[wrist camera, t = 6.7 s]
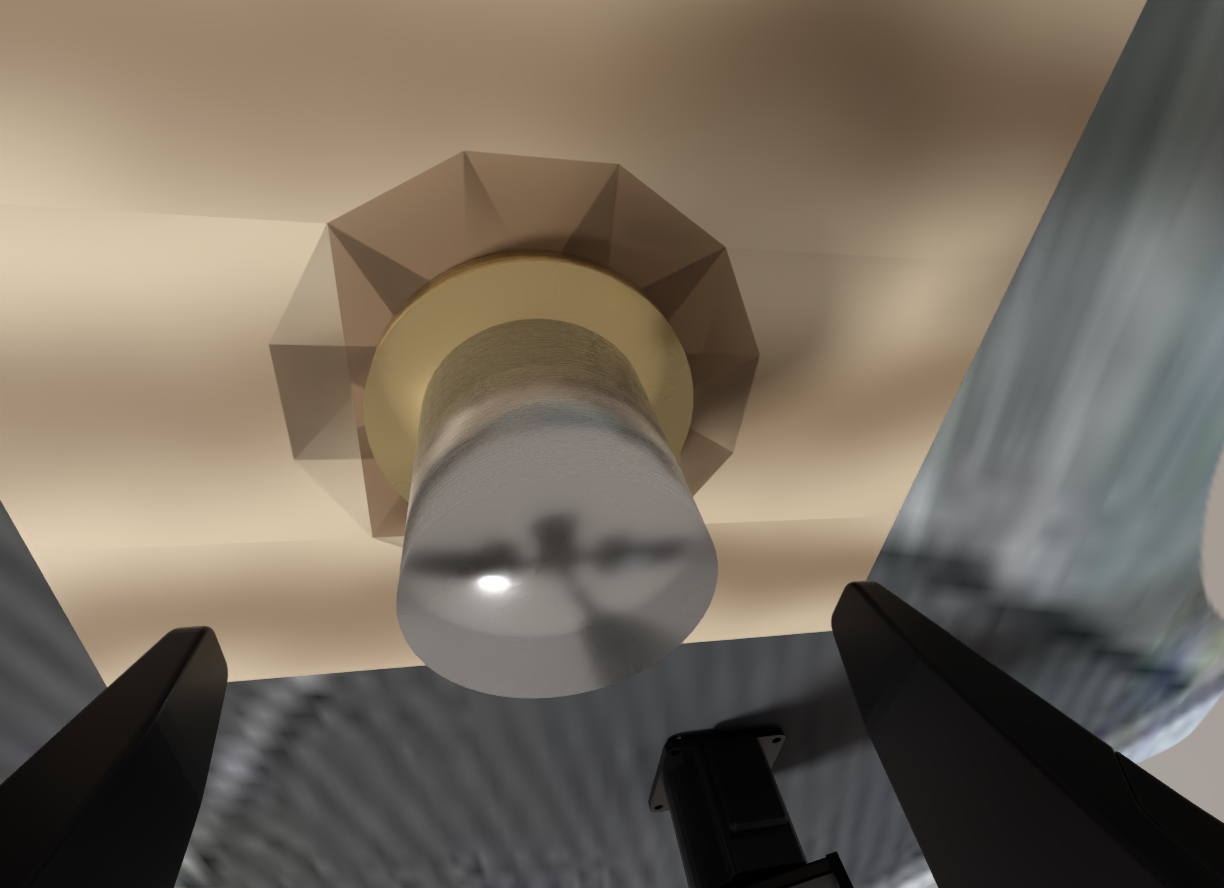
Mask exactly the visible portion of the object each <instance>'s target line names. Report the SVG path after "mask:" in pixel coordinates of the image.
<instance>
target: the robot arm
mask: <svg viewBox="0 0 1224 888" xmlns="http://www.w3.org/2000/svg"><path fill="white" fill-rule="evenodd" d="M831 627H832V632H833V635H834V638H835V641H836V644H837V647H838V650H839V653H840V656H841V658H842V661H843V664H844V667H845V670H846V673H847V676H848V679H849V682H850V685H851V688H852V691H853V694H854V697H855V700H856V703H857V705H858V708H859V711H860V714H861V716H862V719H863V722H864V724H865V726H866V729H867V731H868V733H869V736H870V738H871V740H872V742H873V745H874V747H875V749H876V751H877V754H878V756H879V758H880V760H881V762H882V765H883V767H884V769H885V771H886V773H887V776H888V778H889V780H890V782H891V784H892V787H893V789H894V791H895V793H896V795H897V798H898V800H899V802H900V804H901V806H902V809H903V811H904V813H905V815H906V818H907V820H908V822H909V824H910V826H911V829H912V831H913V833H914V835H915V837H916V840H917V842H918V844H919V846H920V848H921V851H922V853H923V855H924V857H925V859H926V862H927V864H928V866H929V868H930V870H931V873H932V875H933V877H934V879H935V881H936V884H937V886H938V888H1224V823H1223V822H1221V821H1220V820H1218V819H1216V818H1215V817H1213V816H1212V815H1210V814H1209V813H1207V812H1206V811H1204V810H1202V809H1201V808H1200V807H1198V806H1196V805H1195V804H1193V803H1192V802H1190V801H1189V800H1188V799H1186V798H1185V797H1183V796H1181V795H1180V794H1179V793H1177V792H1176V791H1174V790H1173V789H1171V788H1170V787H1169V786H1167V785H1166V784H1164V783H1162V782H1161V781H1160V780H1158V779H1157V778H1155V777H1154V776H1152V775H1151V774H1149V773H1148V772H1147V771H1145V770H1144V769H1142V768H1141V767H1139V766H1138V765H1137V764H1135V763H1134V762H1132V761H1131V760H1130V759H1128V758H1127V757H1125V756H1124V755H1122V754H1121V753H1120V752H1114V750H1113V748H1112V747H1111V746H1109V745H1108V744H1107V743H1105V742H1104V741H1102V740H1101V739H1099V738H1098V737H1097V736H1095V735H1094V734H1092V733H1091V732H1089V731H1088V730H1087V729H1085V728H1084V727H1082V726H1081V725H1080V724H1078V723H1077V722H1075V721H1074V720H1072V719H1071V718H1070V717H1068V716H1067V715H1065V714H1064V713H1062V712H1061V711H1060V710H1058V709H1057V708H1055V707H1054V706H1053V705H1051V704H1050V703H1048V702H1047V701H1045V700H1044V699H1043V698H1041V697H1040V696H1038V695H1037V694H1035V693H1034V692H1033V691H1031V690H1030V689H1028V688H1027V687H1025V686H1024V685H1023V684H1021V683H1020V682H1018V681H1017V680H1016V679H1014V678H1013V677H1011V676H1010V675H1008V674H1007V673H1006V672H1004V671H1003V670H1001V669H1000V668H998V667H997V666H996V665H994V664H993V663H991V662H990V661H988V660H987V659H986V658H984V657H983V656H981V655H980V654H979V653H977V652H976V651H974V650H973V649H971V648H970V647H969V646H967V645H966V644H964V643H963V642H961V641H960V640H959V639H957V638H956V637H954V636H953V635H951V634H950V633H949V632H947V631H946V630H944V629H943V628H942V627H940V626H939V625H937V624H936V623H934V622H933V621H932V620H930V619H929V618H927V617H926V616H924V615H923V614H922V613H920V612H919V611H917V610H916V609H914V608H913V607H912V606H910V605H909V604H907V603H906V602H905V601H903V600H902V599H900V598H899V597H897V596H896V595H895V594H893V593H892V592H890V591H889V590H887V589H886V588H885V587H883V586H882V585H880V584H879V583H877V582H875V581H870V580H867V581H853V582H850V583H848V584H847V585H846V586H845V588H844V590H843V592H842V594H841V596H840V598H839V601H838V603H837V605H836V607H835V609H834V611H833V614H832V617H831ZM227 681H228V667H227V663H226V660H225V657H224V655H223V652H222V650H221V647H220V644H219V642H218V639H217V637H216V634H215V632H214V630H213V629H212V628H211V627H209V626H191V627H179V628H175V629H173V630H171V631H169V632H168V633H167V634H165V635H164V636H163V637H162V638H161V639H160V640H159V641H158V642H157V643H156V644H154V645H153V646H152V647H151V648H150V649H149V650H148V651H147V652H146V653H145V654H143V655H142V656H141V657H140V658H139V659H138V660H137V661H136V662H135V663H134V664H132V665H131V666H130V667H129V668H128V669H127V670H126V671H125V672H124V673H123V674H122V675H120V676H119V677H118V678H117V679H116V680H115V681H114V682H113V683H112V684H111V685H109V686H108V687H107V688H106V689H105V690H104V691H103V692H102V693H101V694H100V695H98V696H97V697H96V698H95V699H94V700H93V701H92V702H91V703H90V704H89V705H87V706H86V707H85V708H84V709H83V710H82V711H81V712H80V713H79V714H78V715H77V716H75V717H74V718H73V719H72V720H71V721H70V722H69V723H68V724H67V725H66V726H64V727H63V728H62V729H61V730H60V731H59V732H58V733H57V734H56V735H55V736H53V737H52V738H51V739H50V740H49V741H48V742H47V743H46V744H45V745H44V746H42V747H41V748H40V749H39V750H38V751H37V752H36V753H35V754H34V755H33V756H32V757H30V758H29V759H28V760H27V761H26V762H25V763H24V764H23V765H22V766H21V767H19V768H18V769H17V770H16V771H15V772H14V773H13V774H12V775H11V776H10V777H8V778H7V779H6V780H5V781H4V782H3V783H2V784H1V785H0V888H174V886H175V883H176V880H177V877H178V874H179V871H180V868H181V865H182V862H183V859H184V856H185V853H186V850H187V847H188V844H189V841H190V837H191V834H192V831H193V828H194V825H195V822H196V819H197V816H198V812H199V809H200V806H201V802H202V798H203V794H204V789H205V785H206V781H207V776H208V771H209V767H210V762H211V757H212V753H213V748H214V743H215V738H216V734H217V729H218V724H219V720H220V715H221V710H222V706H223V701H224V696H225V692H226V687H227ZM785 739H786V737H785V734H784V732H783V730H782V728H769V729H761V730H752V731H744V732H735V733H727V734H719V735H710V736H702V737H693V738H685V739H677V740H671V741H669V742H667V743H666V744H665V745H664V748H663V751H662V755H661V758H660V762H659V765H658V769H657V772H656V776H655V779H654V783H653V786H652V790H651V793H650V797H649V800H648V803H649V808H650V811H652V812H660V811H667V810H670V813H671V817H672V821H673V825H674V829H675V833H676V837H677V841H678V845H679V849H680V853H681V857H682V861H683V866H684V870H685V874H686V878H687V882H688V886H689V888H853V886H852V884H851V881H850V879H849V877H848V875H847V873H846V871H845V868H844V866H843V864H842V862H841V860H840V858H839V855H838V853H837V851H836V852H833V853H830V854H827V855H826V858H823V859H820V860H817V861H814V862H811V863H807V860H806V857H805V855H804V852H803V850H802V847H801V845H800V842H799V840H798V837H797V835H796V832H795V829H794V827H793V824H792V822H791V819H790V817H789V814H788V812H787V809H786V807H785V804H784V801H783V799H782V796H781V794H780V791H779V789H778V786H777V784H776V781H775V779H774V776H773V773H772V771H771V768H772V766H773V764H774V762H775V760H776V758H777V756H778V754H779V752H780V749H781V747H782V745H783V743H784V741H785Z"/></svg>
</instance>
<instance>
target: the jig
mask: <svg viewBox="0 0 1224 888" xmlns="http://www.w3.org/2000/svg"><path fill="white" fill-rule="evenodd" d="M1146 2H1147V0H0V500H1V502H2V503H3V505H4V507H5V509H6V510H7V512H8V514H9V516H10V517H11V519H12V521H13V523H14V524H15V526H16V528H17V530H18V531H19V533H20V535H21V537H22V538H23V540H24V542H25V544H26V545H27V547H28V549H29V551H30V552H31V554H32V556H33V558H34V559H35V561H36V563H37V565H38V566H39V568H40V570H41V572H42V573H43V575H44V577H45V579H46V580H47V582H48V584H49V586H50V587H51V589H52V591H53V593H54V595H55V596H56V598H57V600H58V602H59V603H60V605H61V607H62V609H63V610H64V612H65V614H66V616H67V617H68V619H69V621H70V623H71V624H72V626H73V628H74V630H75V631H76V633H77V635H78V637H79V638H80V640H81V642H82V644H83V645H84V647H85V649H86V651H87V652H88V654H89V656H90V658H91V659H92V661H93V663H94V665H95V666H96V668H97V670H98V672H99V673H100V675H101V677H102V679H103V680H104V682H105V684H106V686H107V687H108V686H109V685H111V684H112V683H113V682H114V681H115V680H116V679H117V678H118V677H119V676H120V675H122V674H123V673H124V672H125V671H126V670H127V669H128V668H129V667H130V666H131V665H132V664H134V663H135V662H136V661H137V660H138V659H139V658H140V657H141V656H142V655H143V654H145V653H146V652H147V651H148V650H149V649H150V648H151V647H152V646H153V645H154V644H156V643H157V642H158V641H159V640H160V639H161V638H162V637H163V636H164V635H165V634H167V633H168V632H169V631H171V630H173V629H175V628H179V627H191V626H209V627H211V628H212V629H213V630H214V632H215V634H216V637H217V639H218V642H219V644H220V647H221V650H222V652H223V655H224V657H225V660H226V663H227V667H228V681H227V682H232V681H244V680H256V679H268V678H279V677H291V676H303V675H315V674H327V673H338V672H350V671H362V670H374V669H386V668H398V667H409V666H421V665H425V664H424V663H423V662H422V661H421V660H420V659H419V658H418V656H417V655H416V654H415V653H414V652H413V651H412V649H411V648H410V646H409V645H408V643H407V642H406V640H405V638H404V636H403V634H402V631H401V629H400V626H399V622H398V618H397V612H396V596H397V588H398V580H399V573H400V565H401V558H402V550H403V542H404V535H405V527H406V520H407V512H408V504H409V503H408V502H407V501H406V500H405V499H404V498H403V497H402V496H401V495H400V494H399V493H398V492H397V491H396V490H395V489H394V487H393V486H392V485H391V483H390V482H389V481H388V480H387V478H386V477H385V476H384V474H383V472H382V471H381V469H380V467H379V465H378V464H377V462H376V460H375V458H374V455H373V453H372V450H371V448H370V445H369V443H368V438H367V433H366V429H365V424H364V407H363V404H364V395H365V386H366V382H367V378H368V375H369V371H370V368H371V364H372V361H373V357H374V354H375V350H376V347H377V345H378V343H379V340H380V338H381V336H382V334H383V332H384V330H385V328H386V326H387V325H388V323H389V322H390V320H391V319H392V317H393V316H394V314H395V313H396V311H397V310H398V309H399V308H400V307H401V306H402V305H403V304H404V302H405V301H406V300H407V299H408V298H409V297H410V296H411V295H412V294H413V293H414V292H415V291H417V290H418V289H419V288H420V287H422V286H423V285H424V284H425V283H427V282H428V281H429V280H431V279H432V278H434V277H436V276H437V275H439V274H441V273H442V272H444V271H445V270H447V269H449V268H451V267H453V266H456V265H458V264H460V263H463V262H465V261H467V260H470V259H473V258H476V257H480V256H484V255H487V254H491V253H495V252H502V251H509V250H516V249H544V250H553V251H561V252H567V253H570V254H574V255H578V256H582V257H586V258H589V259H591V260H593V261H596V262H598V263H601V264H603V265H606V266H608V267H610V268H611V269H613V270H615V271H616V272H618V273H620V274H622V275H623V276H625V277H627V278H628V279H629V280H630V281H632V282H633V283H634V284H635V285H637V286H638V287H639V288H641V289H642V290H643V291H644V292H645V293H646V294H647V295H648V296H649V298H650V299H651V300H652V301H653V302H654V303H655V304H656V305H657V307H658V308H659V309H660V311H661V312H662V314H663V315H664V317H665V318H666V319H667V321H668V323H669V324H670V326H671V327H672V329H673V331H674V332H675V334H676V335H677V337H678V339H679V341H680V343H681V345H682V347H683V349H684V351H685V354H686V357H687V360H688V363H689V367H690V370H691V376H692V382H693V411H692V418H691V424H690V427H689V431H688V434H687V438H686V440H685V443H684V445H683V447H682V449H681V452H680V454H679V456H678V457H677V459H676V461H677V463H678V465H679V468H680V470H681V472H682V474H683V476H684V479H685V481H686V483H687V485H688V487H689V490H690V492H691V494H692V496H693V499H694V501H695V503H696V505H697V507H698V510H699V512H700V514H701V516H702V518H703V521H704V523H705V525H706V527H707V529H708V532H709V534H710V536H711V539H712V541H713V544H714V547H715V549H716V555H717V561H718V579H717V584H716V589H715V593H714V595H713V598H712V601H711V603H710V606H709V608H708V609H707V611H706V613H705V615H704V617H703V618H702V620H701V621H700V622H699V624H698V625H697V626H696V628H695V629H694V631H693V632H692V633H691V634H690V635H689V636H688V637H687V638H686V639H685V640H684V641H683V642H682V643H693V642H705V641H717V640H729V639H740V638H752V637H764V636H776V635H788V634H799V633H811V632H823V631H832V627H831V617H832V614H833V611H834V609H835V607H836V605H837V603H838V601H839V598H840V596H841V594H842V592H843V590H844V588H845V586H846V585H847V584H848V583H850V582H853V581H866V579H867V577H868V575H869V573H870V571H871V569H872V567H873V565H874V562H875V560H876V558H877V556H878V554H879V552H880V550H881V548H882V546H883V544H884V542H885V540H886V538H887V536H888V534H889V532H890V529H891V527H892V525H893V523H894V521H895V519H896V517H897V515H898V513H899V511H900V509H901V507H902V505H903V503H904V501H905V499H906V496H907V494H908V492H909V490H910V488H911V486H912V484H913V482H914V480H915V478H916V476H917V474H918V472H919V470H920V468H921V466H922V463H923V461H924V459H925V457H926V455H927V453H928V451H929V449H930V447H931V445H932V443H933V441H934V439H935V437H936V435H937V433H938V430H939V428H940V426H941V424H942V422H943V420H944V418H945V416H946V414H947V412H948V410H949V408H950V406H951V404H952V402H953V400H954V397H955V395H956V393H957V391H958V389H959V387H960V385H961V383H962V381H963V379H964V377H965V375H966V373H967V371H968V369H969V367H970V364H971V362H972V360H973V358H974V356H975V354H976V352H977V350H978V348H979V346H980V344H981V342H982V340H983V338H984V336H985V334H986V331H987V329H988V327H989V325H990V323H991V321H992V319H993V317H994V315H995V313H996V311H997V309H998V307H999V305H1000V303H1001V301H1002V298H1003V296H1004V294H1005V292H1006V290H1007V288H1008V286H1009V284H1010V282H1011V280H1012V278H1013V276H1014V274H1015V272H1016V270H1017V268H1018V265H1019V263H1020V261H1021V259H1022V257H1023V255H1024V253H1025V251H1026V249H1027V247H1028V245H1029V243H1030V241H1031V239H1032V237H1033V235H1034V232H1035V230H1036V228H1037V226H1038V224H1039V222H1040V220H1041V218H1042V216H1043V214H1044V212H1045V210H1046V208H1047V206H1048V204H1049V202H1050V199H1051V197H1052V195H1053V193H1054V191H1055V189H1056V187H1057V185H1058V183H1059V181H1060V179H1061V177H1062V175H1063V173H1064V171H1065V169H1066V166H1067V164H1068V162H1069V160H1070V158H1071V156H1072V154H1073V152H1074V150H1075V148H1076V146H1077V144H1078V142H1079V140H1080V138H1081V136H1082V133H1083V131H1084V129H1085V127H1086V125H1087V123H1088V121H1089V119H1090V117H1091V115H1092V113H1093V111H1094V109H1095V107H1096V105H1097V103H1098V101H1099V98H1100V96H1101V94H1102V92H1103V90H1104V88H1105V86H1106V84H1107V82H1108V80H1109V78H1110V76H1111V74H1112V72H1113V70H1114V68H1115V65H1116V63H1117V61H1118V59H1119V57H1120V55H1121V53H1122V51H1123V49H1124V47H1125V45H1126V43H1127V41H1128V39H1129V37H1130V35H1131V32H1132V30H1133V28H1134V26H1135V24H1136V22H1137V20H1138V18H1139V16H1140V14H1141V12H1142V10H1143V8H1144V6H1145V4H1146Z"/></svg>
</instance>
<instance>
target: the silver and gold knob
mask: <svg viewBox="0 0 1224 888" xmlns="http://www.w3.org/2000/svg"><path fill="white" fill-rule="evenodd" d="M363 407H364V424H365V429H366V433H367V438H368V443H369V445H370V448H371V450H372V453H373V455H374V458H375V460H376V462H377V464H378V465H379V467H380V469H381V471H382V472H383V474H384V476H385V477H386V478H387V480H388V481H389V482H390V483H391V485H392V486H393V487H394V489H395V490H396V491H397V492H398V493H399V494H400V495H401V496H402V497H403V498H404V499H405V500H406V501H407V502H408V503H409V504H408V512H407V520H406V527H405V535H404V542H403V550H402V558H401V565H400V573H399V580H398V588H397V596H396V612H397V618H398V622H399V626H400V629H401V631H402V634H403V636H404V638H405V640H406V642H407V643H408V645H409V646H410V648H411V649H412V651H413V652H414V653H415V654H416V655H417V656H418V658H419V659H420V660H421V661H422V662H423V663H424V664H425V665H427V666H428V667H429V668H431V669H432V670H433V671H435V672H436V673H437V674H439V675H441V676H443V677H445V678H446V679H448V680H450V681H452V682H454V683H456V684H459V685H461V686H464V687H466V688H469V689H472V690H476V691H479V692H483V693H487V694H492V695H498V696H504V697H514V698H550V697H560V696H567V695H574V694H579V693H583V692H588V691H592V690H595V689H599V688H602V687H606V686H609V685H611V684H614V683H617V682H619V681H622V680H624V679H627V678H629V677H631V676H633V675H635V674H637V673H639V672H641V671H643V670H645V669H647V668H648V667H650V666H652V665H653V664H655V663H657V662H658V661H660V660H661V659H662V658H664V657H665V656H667V655H668V654H669V653H671V652H672V651H673V650H674V649H675V648H676V647H678V646H679V645H680V644H681V643H682V642H683V641H684V640H685V639H686V638H687V637H688V636H689V635H690V634H691V633H692V632H693V631H694V629H695V628H696V626H697V625H698V624H699V622H700V621H701V620H702V618H703V617H704V615H705V613H706V611H707V609H708V608H709V606H710V603H711V601H712V598H713V595H714V593H715V589H716V584H717V579H718V561H717V555H716V549H715V547H714V544H713V541H712V539H711V536H710V534H709V532H708V529H707V527H706V525H705V523H704V521H703V518H702V516H701V514H700V512H699V510H698V507H697V505H696V503H695V501H694V499H693V496H692V494H691V492H690V490H689V487H688V485H687V483H686V481H685V479H684V476H683V474H682V472H681V470H680V468H679V465H678V463H677V461H676V459H677V457H678V456H679V454H680V452H681V449H682V447H683V445H684V443H685V440H686V438H687V434H688V431H689V427H690V424H691V418H692V411H693V382H692V376H691V370H690V367H689V363H688V360H687V357H686V354H685V351H684V349H683V347H682V345H681V343H680V341H679V339H678V337H677V335H676V334H675V332H674V331H673V329H672V327H671V326H670V324H669V323H668V321H667V319H666V318H665V317H664V315H663V314H662V312H661V311H660V309H659V308H658V307H657V305H656V304H655V303H654V302H653V301H652V300H651V299H650V298H649V296H648V295H647V294H646V293H645V292H644V291H643V290H642V289H641V288H639V287H638V286H637V285H635V284H634V283H633V282H632V281H630V280H629V279H628V278H627V277H625V276H623V275H622V274H620V273H618V272H616V271H615V270H613V269H611V268H610V267H608V266H606V265H603V264H601V263H598V262H596V261H593V260H591V259H589V258H586V257H582V256H578V255H574V254H570V253H567V252H561V251H553V250H544V249H516V250H509V251H502V252H495V253H491V254H487V255H484V256H480V257H476V258H473V259H470V260H467V261H465V262H463V263H460V264H458V265H456V266H453V267H451V268H449V269H447V270H445V271H444V272H442V273H441V274H439V275H437V276H436V277H434V278H432V279H431V280H429V281H428V282H427V283H425V284H424V285H423V286H422V287H420V288H419V289H418V290H417V291H415V292H414V293H413V294H412V295H411V296H410V297H409V298H408V299H407V300H406V301H405V302H404V304H403V305H402V306H401V307H400V308H399V309H398V310H397V311H396V313H395V314H394V316H393V317H392V319H391V320H390V322H389V323H388V325H387V326H386V328H385V330H384V332H383V334H382V336H381V338H380V340H379V343H378V345H377V347H376V350H375V354H374V357H373V361H372V364H371V368H370V371H369V375H368V378H367V382H366V386H365V395H364V404H363Z"/></svg>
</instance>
